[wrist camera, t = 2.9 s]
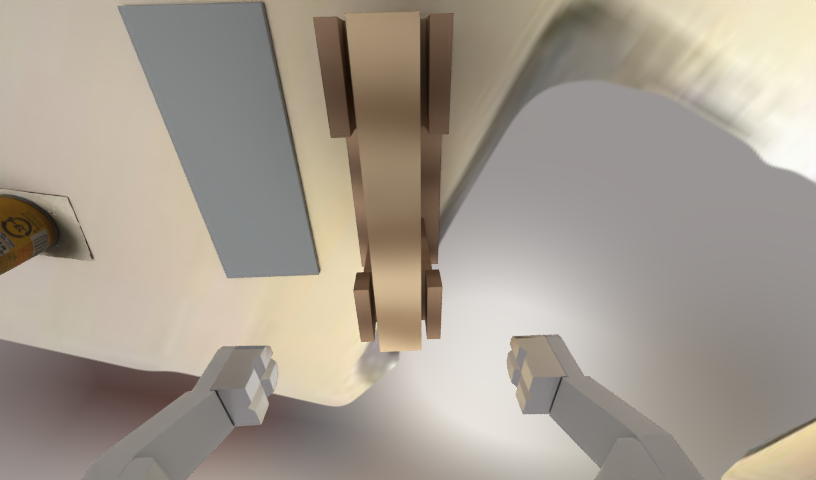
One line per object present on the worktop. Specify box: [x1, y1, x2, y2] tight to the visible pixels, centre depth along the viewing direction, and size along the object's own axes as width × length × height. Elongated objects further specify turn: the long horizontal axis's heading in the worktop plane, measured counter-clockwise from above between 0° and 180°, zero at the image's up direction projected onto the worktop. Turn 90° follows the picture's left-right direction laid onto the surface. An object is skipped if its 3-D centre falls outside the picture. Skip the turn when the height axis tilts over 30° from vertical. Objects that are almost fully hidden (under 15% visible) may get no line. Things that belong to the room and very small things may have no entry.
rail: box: [345, 11, 421, 352], centre depth 19 cm, size 20×3×3 cm, turn 1°
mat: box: [118, 2, 320, 278], centre depth 28 cm, size 24×10×1 cm, turn 1°
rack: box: [313, 13, 453, 342], centre depth 24 cm, size 21×8×12 cm, turn 1°
